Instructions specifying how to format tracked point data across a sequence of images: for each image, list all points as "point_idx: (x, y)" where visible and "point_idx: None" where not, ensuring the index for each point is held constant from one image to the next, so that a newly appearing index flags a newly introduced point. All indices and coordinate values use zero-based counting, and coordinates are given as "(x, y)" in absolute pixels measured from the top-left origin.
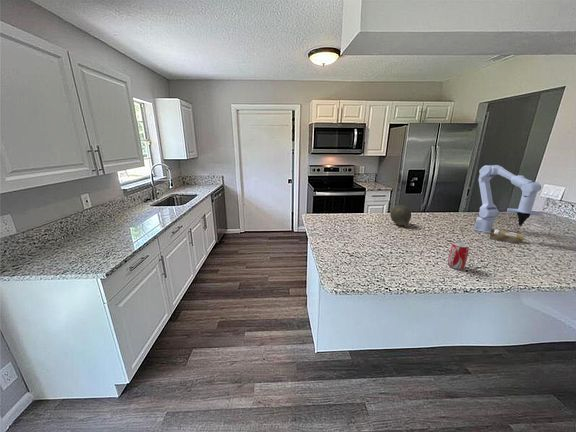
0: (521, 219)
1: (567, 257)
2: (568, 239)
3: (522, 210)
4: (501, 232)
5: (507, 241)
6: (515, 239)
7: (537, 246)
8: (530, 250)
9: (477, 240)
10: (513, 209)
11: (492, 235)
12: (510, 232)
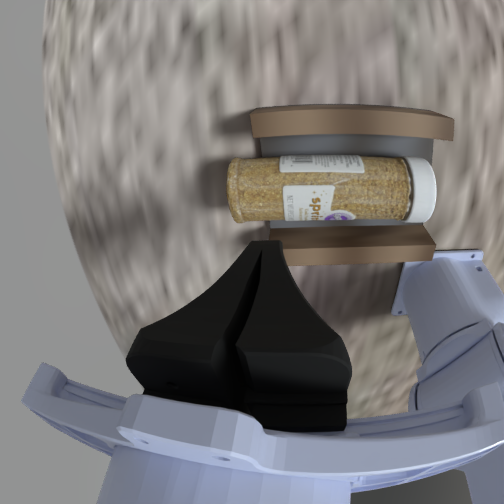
0: (260, 292)
1: (51, 88)
2: (121, 343)
3: (262, 496)
4: (392, 175)
5: (328, 104)
6: (280, 110)
7: (159, 156)
8: (181, 29)
9: (482, 36)
10: (424, 469)
11: (437, 114)
12: (329, 195)
